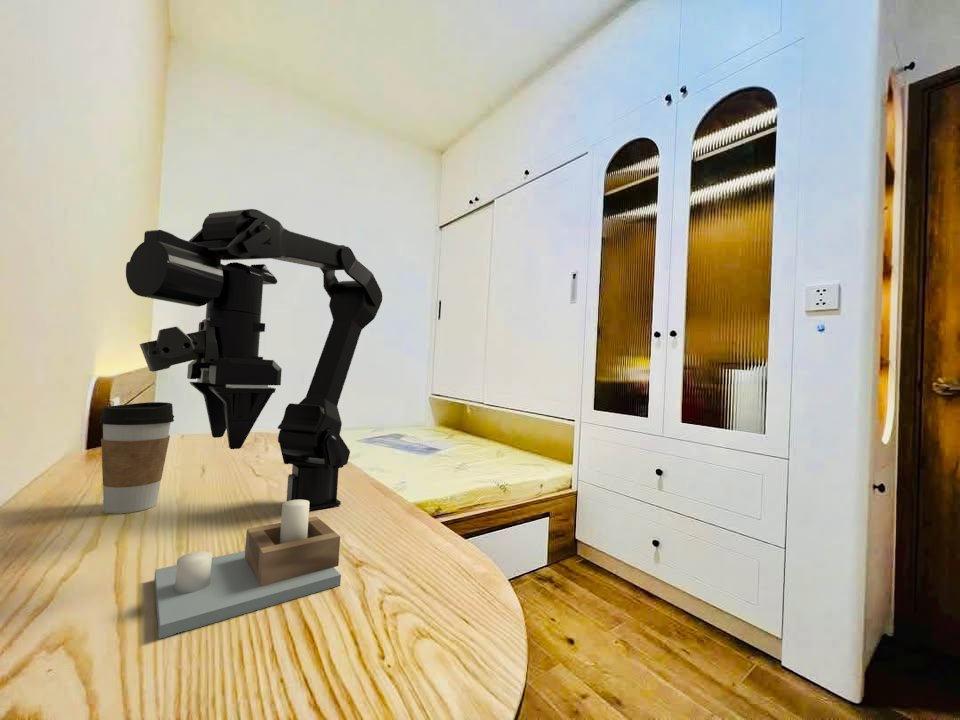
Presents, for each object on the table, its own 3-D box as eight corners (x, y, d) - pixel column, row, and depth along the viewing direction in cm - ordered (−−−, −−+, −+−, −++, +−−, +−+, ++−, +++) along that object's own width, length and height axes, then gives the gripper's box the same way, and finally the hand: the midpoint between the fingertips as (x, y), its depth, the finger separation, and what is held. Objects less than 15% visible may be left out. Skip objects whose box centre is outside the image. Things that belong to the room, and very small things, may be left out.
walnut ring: (314, 542, 47) (316, 516, 47) (338, 565, 42) (340, 536, 42) (244, 557, 42) (246, 528, 43) (260, 586, 37) (263, 553, 37)
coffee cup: (180, 503, 61) (188, 404, 62) (115, 520, 53) (125, 406, 54) (143, 495, 64) (151, 401, 65) (76, 511, 56) (86, 403, 57)
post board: (304, 546, 48) (308, 487, 48) (340, 585, 40) (344, 512, 40) (154, 580, 39) (160, 506, 39) (159, 639, 31) (166, 545, 31)
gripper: (142, 311, 50) (132, 436, 50) (158, 293, 37) (145, 465, 36) (243, 322, 58) (235, 431, 57) (287, 310, 45) (278, 453, 44)
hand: (225, 442), depth 49 cm, fingers open, 9 cm apart
